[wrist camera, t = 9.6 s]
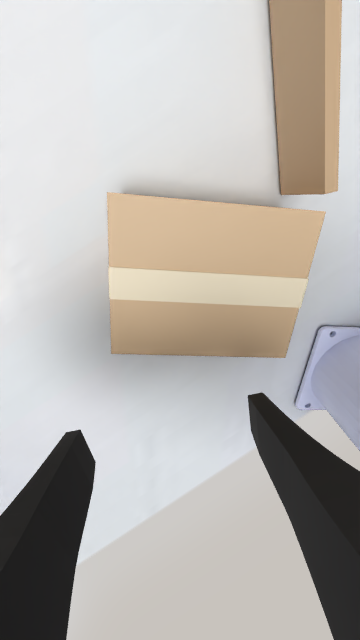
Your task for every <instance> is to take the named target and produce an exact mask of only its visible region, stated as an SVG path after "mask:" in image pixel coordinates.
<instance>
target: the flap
mask: <svg viewBox="0 0 360 640" xmlns="http://www.w3.org/2000/svg"><path fill="white" fill-rule="evenodd" d="M269 6H270V22H271V38H272V54H273V71H274V87H275V103H276V120H277V136H278V152H279V169H280V185H281V195H301V194H327V193H331V192H335V191H338V159H339V110H340V62H341V13H342V0H269Z"/></svg>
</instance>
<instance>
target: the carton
mask: <svg viewBox="0 0 360 640" xmlns="http://www.w3.org/2000/svg"><path fill="white" fill-rule="evenodd" d="M107 207H108V246H109V267H108V275H109V299H110V323H111V354H146V355H188V356H230V357H273V358H285V357H286V353H287V350H288V346H289V342H290V339H291V335H292V332H293V328H294V324H295V321H296V317H297V314H298V310H299V308H301V305H302V301H303V297H304V294H305V290H306V287H307V283H308V280H309V279H308V274H309V271H310V267H311V263H312V260H313V256H314V253H315V249H316V246H317V242H318V238H319V235H320V231H321V228H322V224H323V220H324V217H325V213H326V212H324V211H312V210H301V209H290V208H279V207H267V206H256V205H245V204H233V203H222V202H211V201H200V200H188V199H177V198H166V197H154V196H143V195H132V194H121V193H109V192H107Z"/></svg>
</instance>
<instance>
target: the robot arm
mask: <svg viewBox="0 0 360 640" xmlns="http://www.w3.org/2000/svg"><path fill="white" fill-rule="evenodd" d="M332 331H333V333H332V334H331V335H330V333H331V332H332ZM248 403H249V414H250V424H251V432H252V434H253V437H254V440H255V443H256V446H257V449H258V451H259V454H260V456H261V459H262V461H263V463H264V465H265V467H266V469H267V471H268V473H269V475H270V478H271V480H272V482H273V484H274V486H275V488H276V490H277V492H278V494H279V497H280V499H281V501H282V503H283V505H284V507H285V509H286V512H287V514H288V516H289V519H290V521H291V523H292V526H293V528H294V531H295V534H296V536H297V539H298V541H299V544H300V547H301V550H302V552H303V555H304V558H305V560H306V563H307V566H308V568H309V571H310V574H311V577H312V579H313V582H314V584H315V587H316V590H317V593H318V596H319V598H320V602H321V604H322V607H323V610H324V613H325V616H326V618H327V621H328V624H329V627H330V629H331V633H332V636H333V638H334V640H360V471H358V470H357V469H355V468H354V467H352V466H351V465H349V464H348V463H346V462H345V461H343V460H342V459H340V458H339V457H337V456H336V455H334V454H333V453H332V452H330V451H329V450H328V449H326V448H325V447H324V446H322V445H321V444H320V443H319V442H317V441H316V440H314V439H313V438H312V437H311V436H310V435H308V434H307V433H306V432H305V431H304V430H302V429H301V428H300V427H299V426H298V425H297V424H295V423H294V422H293V421H292V420H291V419H290V418H289V417H287V416H286V415H285V414H284V413H283V412H282V411H281V410H280V409H279V408H278V407H277V406H276V405H275V404H274V403H273V402H272V401H271V400H270V399H269V398H268V397H267V396H266V395H265V394H263V393H257V394H252V395H248ZM307 403H308V404H307ZM295 405H296V407H297V408H298V409H300V410H327V411H328V412H329V414H330V415H331V416H332V417H333V418H334V420H335V421H336V422H337V424H338V425H339V426H340V427H341V429H342V430H343V431H344V432H345V433H346V435H347V436H348V437H349V438H350V440H351V441H352V442H353V443H354V445H355V446H356V447H357V448H358V450H359V451H360V327H335V326H324V327H322V328H320V329H319V331H318V334H317V337H316V340H315V343H314V346H313V349H312V352H311V355H310V358H309V362H308V365H307V368H306V371H305V374H304V377H303V380H302V383H301V386H300V390H299V393H298V396H297V399H296V402H295ZM95 463H96V462H95V460H94V458H93V456H92V454H91V451H90V449H89V447H88V445H87V443H86V441H85V438H84V436H83V434H82V432H81V430H76V431H71V432H66V433H65V435H64V436H63V437H62V439H61V440H60V441H59V443H58V444H57V445H56V447H55V448H54V449H53V451H52V452H51V453H50V455H49V456H48V457H47V459H46V460H45V461H44V463H43V464H42V465H41V467H40V468H39V469H38V470H37V472H36V473H35V474H34V476H33V477H32V478H31V480H30V481H29V482H28V483H27V485H26V486H25V487H24V488H23V489H22V491H21V492H20V493H19V494H18V495H17V497H16V498H15V499H14V500H13V502H12V503H11V504H10V505H9V506H8V508H7V509H6V510H5V511H4V512H3V513H2V515H1V516H0V640H66V636H67V628H68V620H69V612H70V604H71V596H72V589H73V582H74V574H75V568H76V562H77V557H78V552H79V548H80V543H81V539H82V534H83V530H84V526H85V521H86V517H87V513H88V508H89V504H90V499H91V494H92V490H93V482H94V473H95Z"/></svg>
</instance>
